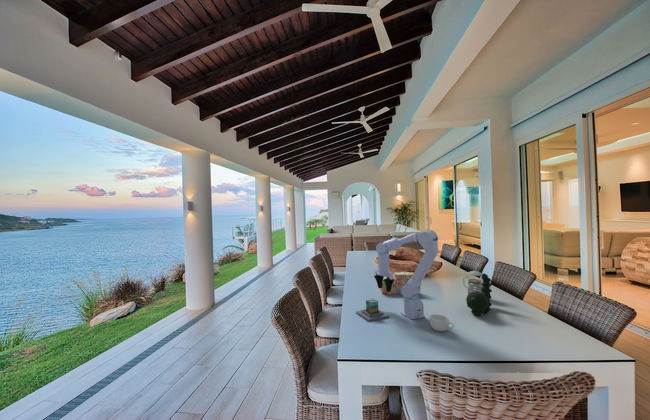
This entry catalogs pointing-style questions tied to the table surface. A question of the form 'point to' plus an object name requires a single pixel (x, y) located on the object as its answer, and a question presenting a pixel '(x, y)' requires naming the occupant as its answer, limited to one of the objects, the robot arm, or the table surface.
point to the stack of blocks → (397, 282)
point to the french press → (474, 280)
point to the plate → (372, 315)
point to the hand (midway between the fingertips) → (384, 289)
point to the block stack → (371, 306)
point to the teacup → (440, 322)
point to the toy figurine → (480, 298)
